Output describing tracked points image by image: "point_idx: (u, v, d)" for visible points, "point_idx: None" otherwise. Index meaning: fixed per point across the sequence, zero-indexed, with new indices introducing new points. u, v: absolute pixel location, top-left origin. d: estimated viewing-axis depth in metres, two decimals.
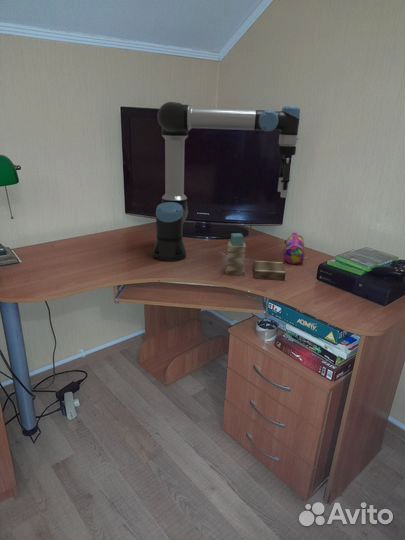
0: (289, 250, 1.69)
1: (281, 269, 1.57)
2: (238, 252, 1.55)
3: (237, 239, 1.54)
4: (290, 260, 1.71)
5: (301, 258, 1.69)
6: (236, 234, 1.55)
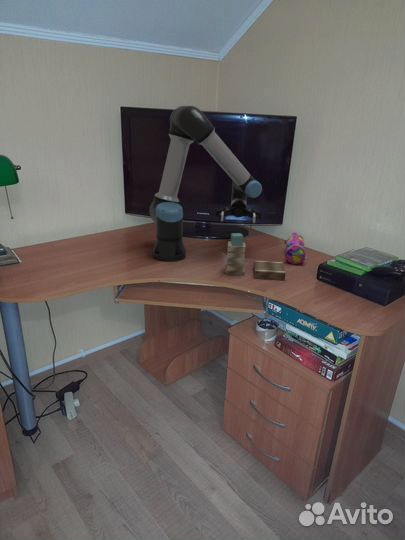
0: (290, 250, 1.69)
1: (281, 269, 1.57)
2: (238, 252, 1.55)
3: (237, 239, 1.54)
4: (291, 260, 1.70)
5: (302, 258, 1.69)
6: (236, 234, 1.55)
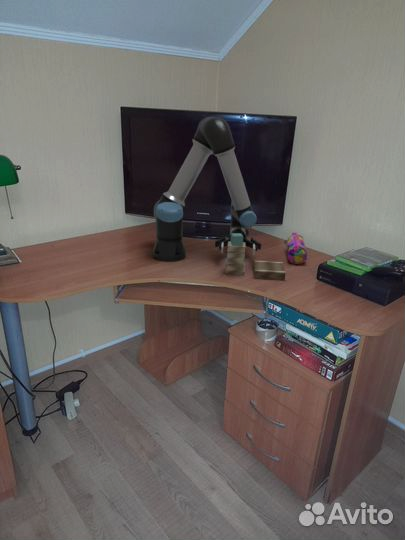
0: (292, 250, 1.69)
1: (281, 269, 1.57)
2: (238, 252, 1.55)
3: (237, 239, 1.54)
4: (293, 260, 1.70)
5: (304, 258, 1.69)
6: (236, 234, 1.55)
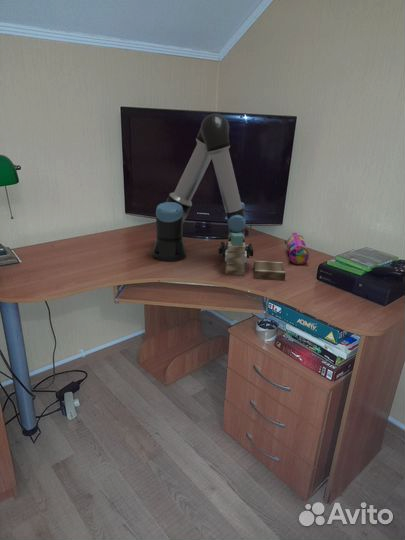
0: (294, 251, 1.69)
1: (281, 269, 1.57)
2: (238, 252, 1.55)
3: (237, 239, 1.54)
4: (295, 261, 1.70)
5: (306, 258, 1.69)
6: (236, 234, 1.55)
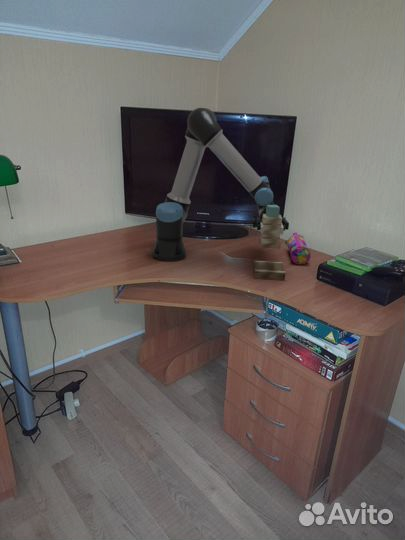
0: (296, 251, 1.69)
1: (281, 269, 1.57)
2: (274, 224, 1.49)
3: (273, 210, 1.48)
4: (297, 261, 1.70)
5: (308, 258, 1.69)
6: (272, 205, 1.50)
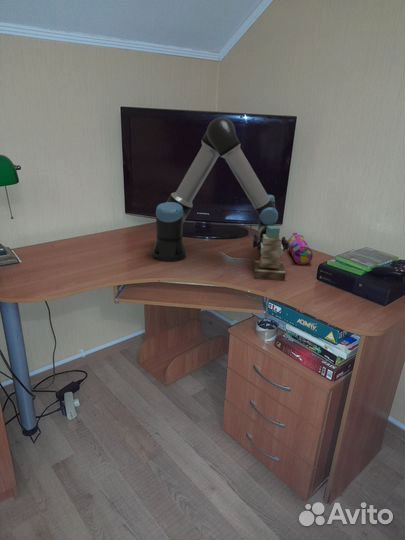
0: (298, 251, 1.69)
1: (281, 269, 1.57)
2: (274, 245, 1.52)
3: (273, 231, 1.51)
4: (299, 261, 1.70)
5: (310, 258, 1.69)
6: (272, 226, 1.53)
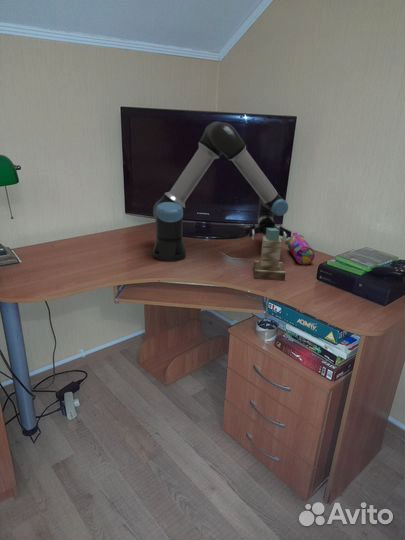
0: (300, 251, 1.69)
1: (281, 269, 1.57)
2: (274, 247, 1.52)
3: (273, 234, 1.52)
4: (301, 261, 1.70)
5: (312, 258, 1.69)
6: (272, 229, 1.53)
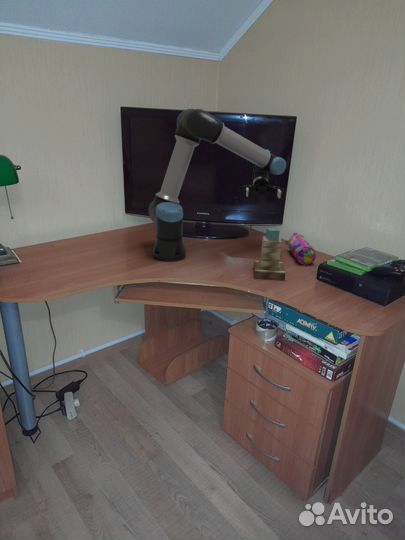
0: (301, 251, 1.69)
1: (281, 269, 1.57)
2: (274, 247, 1.52)
3: (273, 234, 1.52)
4: (302, 261, 1.70)
5: (313, 258, 1.69)
6: (272, 229, 1.53)
